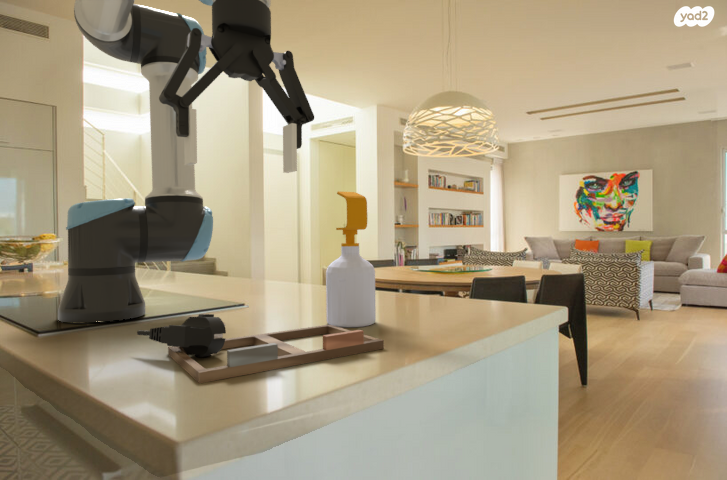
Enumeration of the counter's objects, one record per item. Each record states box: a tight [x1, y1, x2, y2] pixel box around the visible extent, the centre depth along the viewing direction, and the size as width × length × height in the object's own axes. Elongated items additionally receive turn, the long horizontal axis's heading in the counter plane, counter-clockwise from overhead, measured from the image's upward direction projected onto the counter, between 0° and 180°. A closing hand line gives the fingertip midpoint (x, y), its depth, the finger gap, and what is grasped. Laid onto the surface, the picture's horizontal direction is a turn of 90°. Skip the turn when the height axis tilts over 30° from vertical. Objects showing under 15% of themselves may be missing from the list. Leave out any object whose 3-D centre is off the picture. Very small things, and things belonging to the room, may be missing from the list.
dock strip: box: [167, 324, 385, 384], centre depth 66 cm, size 15×26×3 cm, turn 125°
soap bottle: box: [325, 190, 377, 329], centre depth 86 cm, size 9×9×25 cm
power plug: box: [136, 313, 227, 358], centre depth 65 cm, size 6×8×12 cm
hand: (243, 168), depth 62 cm, fingers open, 13 cm apart
